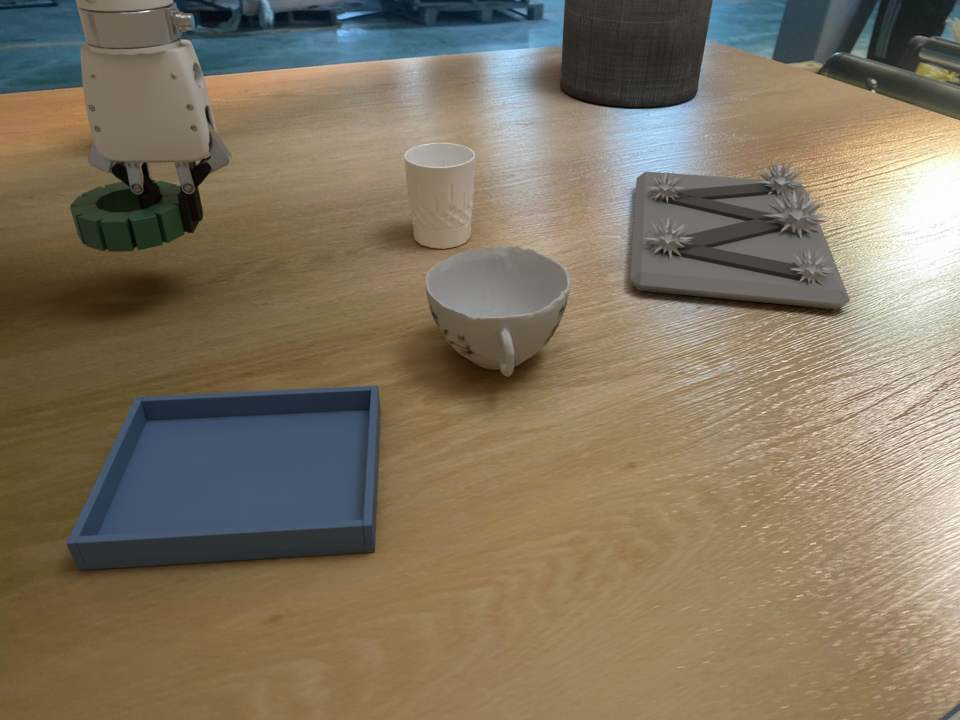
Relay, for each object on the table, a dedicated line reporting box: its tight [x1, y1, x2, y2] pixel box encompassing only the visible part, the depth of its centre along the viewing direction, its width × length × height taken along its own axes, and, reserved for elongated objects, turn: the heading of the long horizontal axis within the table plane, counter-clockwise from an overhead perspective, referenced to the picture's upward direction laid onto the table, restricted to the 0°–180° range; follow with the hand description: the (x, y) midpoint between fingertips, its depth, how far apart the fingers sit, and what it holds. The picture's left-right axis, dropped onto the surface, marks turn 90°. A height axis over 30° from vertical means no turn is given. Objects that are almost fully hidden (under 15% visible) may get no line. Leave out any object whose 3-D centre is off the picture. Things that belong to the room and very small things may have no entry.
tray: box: [66, 385, 382, 571], centre depth 56 cm, size 19×15×3 cm
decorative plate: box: [629, 160, 851, 310], centre depth 87 cm, size 30×22×7 cm
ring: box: [69, 179, 186, 253], centre depth 74 cm, size 10×10×3 cm
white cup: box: [403, 142, 476, 250], centre depth 87 cm, size 8×8×10 cm
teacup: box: [424, 245, 571, 378], centre depth 67 cm, size 15×12×8 cm
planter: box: [559, 0, 714, 108], centre depth 135 cm, size 25×25×22 cm
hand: (175, 226), depth 75 cm, fingers closed on ring, 2 cm apart
